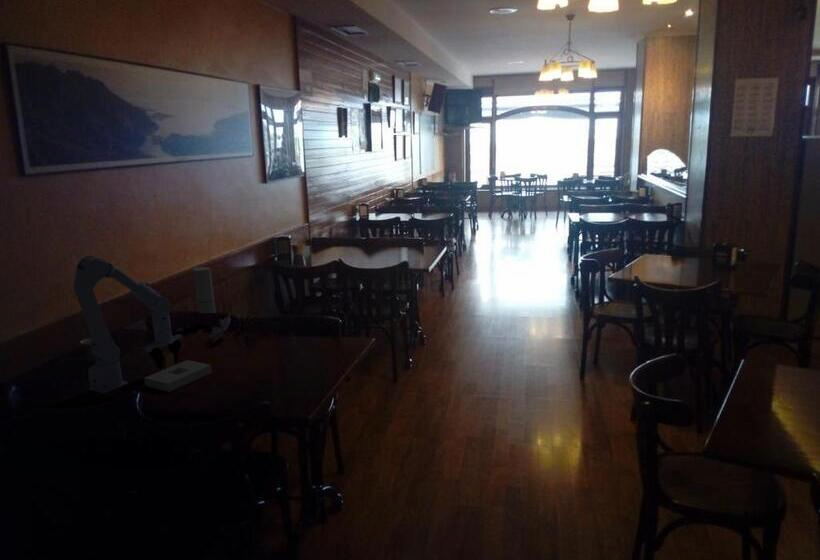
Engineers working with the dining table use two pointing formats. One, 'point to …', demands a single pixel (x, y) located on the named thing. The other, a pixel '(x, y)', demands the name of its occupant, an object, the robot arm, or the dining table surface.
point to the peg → (167, 360)
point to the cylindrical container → (204, 290)
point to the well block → (178, 375)
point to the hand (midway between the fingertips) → (167, 364)
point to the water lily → (220, 331)
